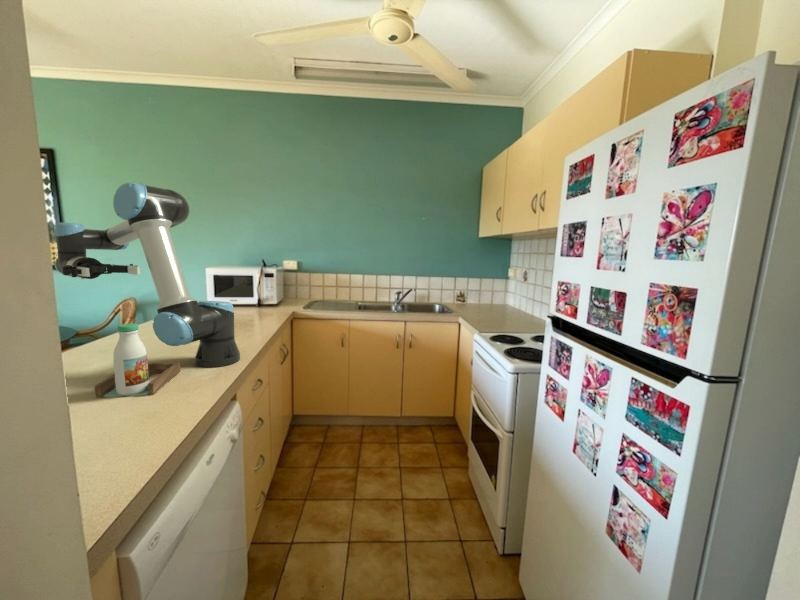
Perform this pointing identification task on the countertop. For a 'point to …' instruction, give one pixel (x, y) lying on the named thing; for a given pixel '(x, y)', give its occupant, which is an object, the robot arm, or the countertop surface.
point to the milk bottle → (130, 362)
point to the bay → (166, 374)
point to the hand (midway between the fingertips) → (114, 271)
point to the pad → (114, 393)
